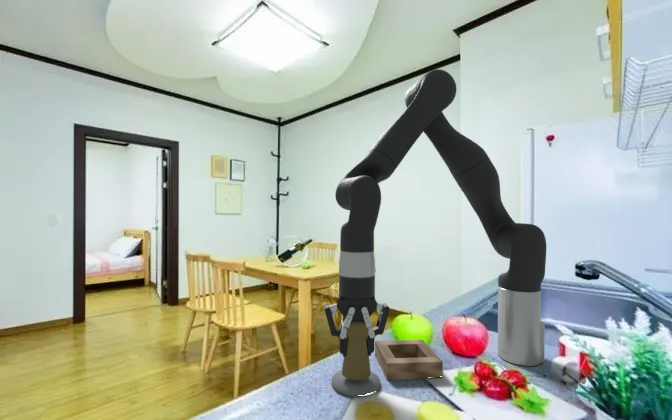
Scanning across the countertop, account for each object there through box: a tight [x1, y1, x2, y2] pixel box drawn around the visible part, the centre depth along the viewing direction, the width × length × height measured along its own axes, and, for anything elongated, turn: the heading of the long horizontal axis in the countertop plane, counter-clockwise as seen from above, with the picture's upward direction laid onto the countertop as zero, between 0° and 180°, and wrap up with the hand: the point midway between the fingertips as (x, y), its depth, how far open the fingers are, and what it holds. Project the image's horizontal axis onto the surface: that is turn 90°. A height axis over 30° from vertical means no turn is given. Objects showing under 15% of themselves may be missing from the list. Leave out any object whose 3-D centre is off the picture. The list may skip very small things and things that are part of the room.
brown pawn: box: [341, 322, 372, 380], centre depth 68 cm, size 6×6×11 cm
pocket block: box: [374, 339, 444, 381], centre depth 76 cm, size 12×12×4 cm
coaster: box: [331, 369, 381, 398], centre depth 68 cm, size 10×10×1 cm
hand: (356, 354), depth 68 cm, fingers closed on brown pawn, 4 cm apart
